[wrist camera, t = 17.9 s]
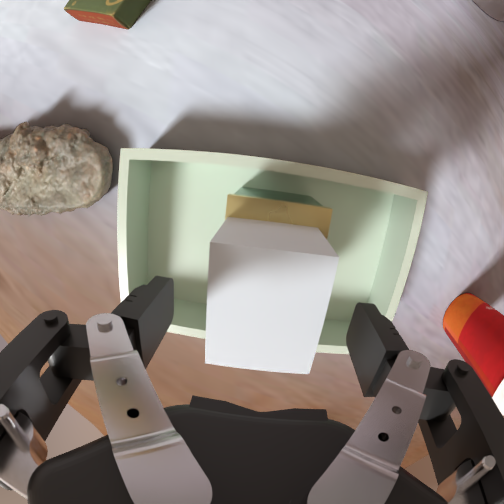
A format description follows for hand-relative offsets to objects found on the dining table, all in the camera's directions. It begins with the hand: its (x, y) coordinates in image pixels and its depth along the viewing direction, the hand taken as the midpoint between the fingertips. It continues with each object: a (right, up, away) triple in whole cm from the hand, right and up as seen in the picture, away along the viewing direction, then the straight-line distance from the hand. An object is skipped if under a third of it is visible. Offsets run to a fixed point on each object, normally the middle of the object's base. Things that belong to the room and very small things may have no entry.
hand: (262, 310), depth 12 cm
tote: (+1, +3, +12) cm, 13 cm away
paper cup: (+24, -5, +14) cm, 28 cm away
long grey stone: (-30, +13, +12) cm, 34 cm away
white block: (0, +1, +5) cm, 5 cm away
